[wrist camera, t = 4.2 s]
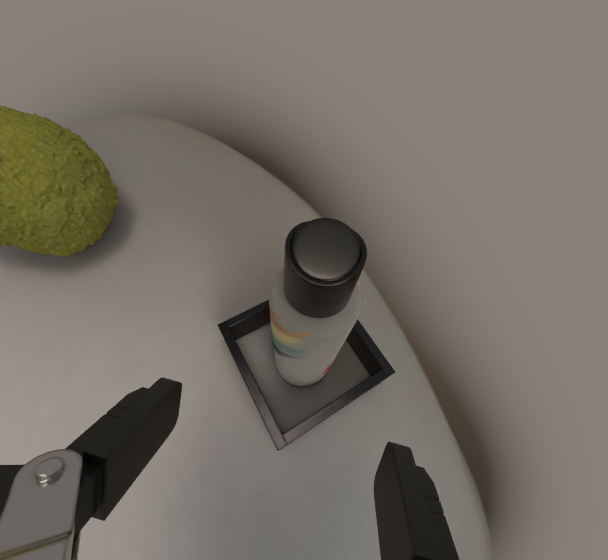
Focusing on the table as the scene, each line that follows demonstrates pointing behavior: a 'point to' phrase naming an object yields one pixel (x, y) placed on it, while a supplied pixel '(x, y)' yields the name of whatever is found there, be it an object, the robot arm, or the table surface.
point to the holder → (378, 373)
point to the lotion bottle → (315, 298)
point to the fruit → (50, 187)
